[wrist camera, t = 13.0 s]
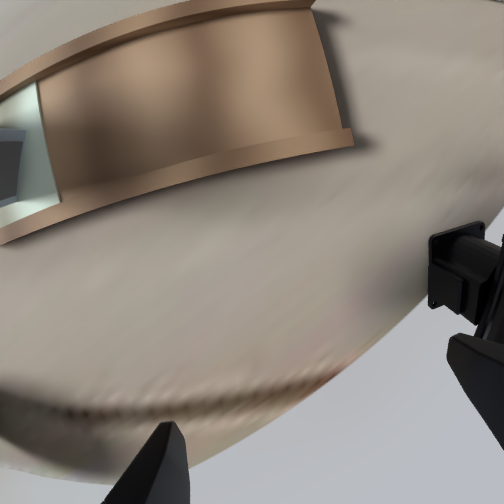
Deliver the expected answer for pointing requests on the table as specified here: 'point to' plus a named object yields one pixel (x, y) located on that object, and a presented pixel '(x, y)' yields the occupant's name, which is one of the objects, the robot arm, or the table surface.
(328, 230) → the table surface
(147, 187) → the rail board
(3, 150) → the pale blue tall block
